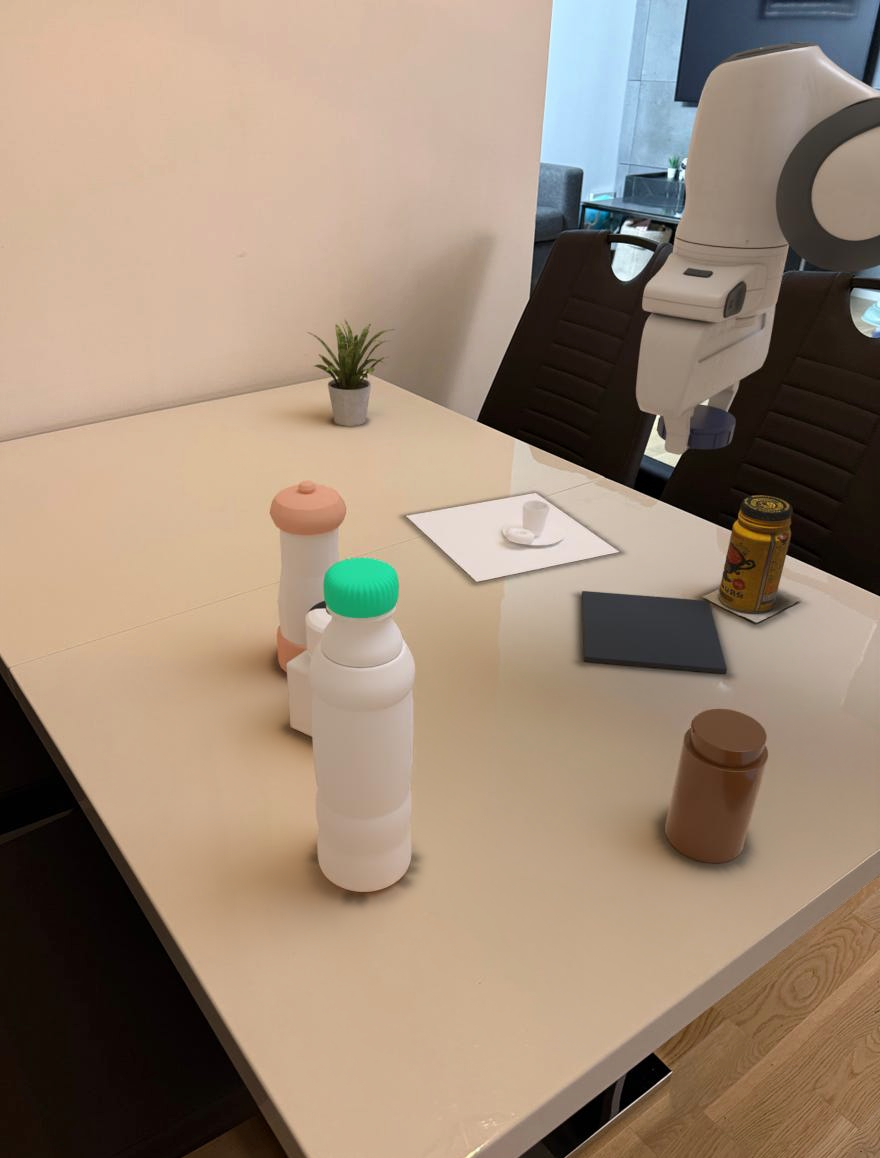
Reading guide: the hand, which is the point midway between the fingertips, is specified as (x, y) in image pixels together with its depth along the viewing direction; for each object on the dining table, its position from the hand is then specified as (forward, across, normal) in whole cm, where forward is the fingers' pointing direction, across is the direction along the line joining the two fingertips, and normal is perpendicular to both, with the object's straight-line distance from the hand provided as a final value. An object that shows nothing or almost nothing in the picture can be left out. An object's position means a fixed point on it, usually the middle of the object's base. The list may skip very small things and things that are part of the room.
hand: (694, 439), depth 85 cm
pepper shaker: (+23, +22, -27) cm, 42 cm away
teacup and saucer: (+23, -15, -28) cm, 39 cm away
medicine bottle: (+23, +28, -17) cm, 41 cm away
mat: (+23, -4, -3) cm, 24 cm away
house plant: (+24, -36, -70) cm, 82 cm away
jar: (+23, +22, +14) cm, 35 cm away
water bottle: (+23, +41, -4) cm, 47 cm away
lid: (-2, 0, 0) cm, 2 cm away
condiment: (+23, -18, +3) cm, 30 cm away
